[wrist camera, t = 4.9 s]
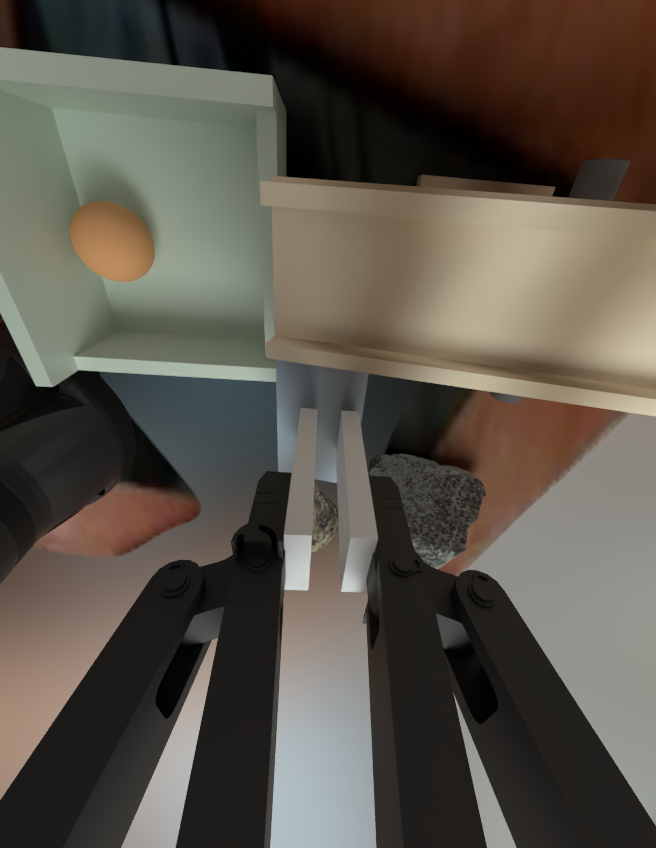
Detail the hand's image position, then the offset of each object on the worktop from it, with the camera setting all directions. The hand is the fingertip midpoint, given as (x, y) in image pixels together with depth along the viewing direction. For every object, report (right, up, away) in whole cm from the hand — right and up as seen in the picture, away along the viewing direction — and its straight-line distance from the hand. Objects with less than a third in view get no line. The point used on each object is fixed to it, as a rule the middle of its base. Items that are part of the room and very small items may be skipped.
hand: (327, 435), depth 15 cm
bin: (-8, +11, +4) cm, 14 cm away
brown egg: (-11, +10, +2) cm, 15 cm away
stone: (+7, -5, +15) cm, 17 cm away
